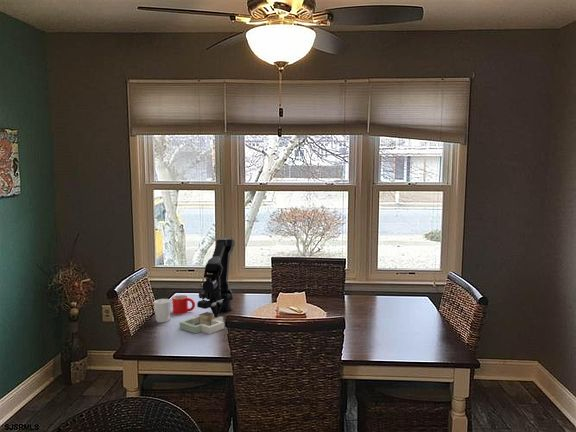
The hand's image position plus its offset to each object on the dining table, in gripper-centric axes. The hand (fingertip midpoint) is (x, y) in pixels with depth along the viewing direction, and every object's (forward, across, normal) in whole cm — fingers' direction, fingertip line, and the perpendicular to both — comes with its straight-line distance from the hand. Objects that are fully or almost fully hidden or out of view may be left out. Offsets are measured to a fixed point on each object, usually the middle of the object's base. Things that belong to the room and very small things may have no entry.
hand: (215, 317), depth 246 cm
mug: (+2, +1, -24) cm, 24 cm away
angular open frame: (+2, +9, +3) cm, 10 cm away
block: (+2, +6, 0) cm, 6 cm away
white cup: (+2, +16, -22) cm, 27 cm away
